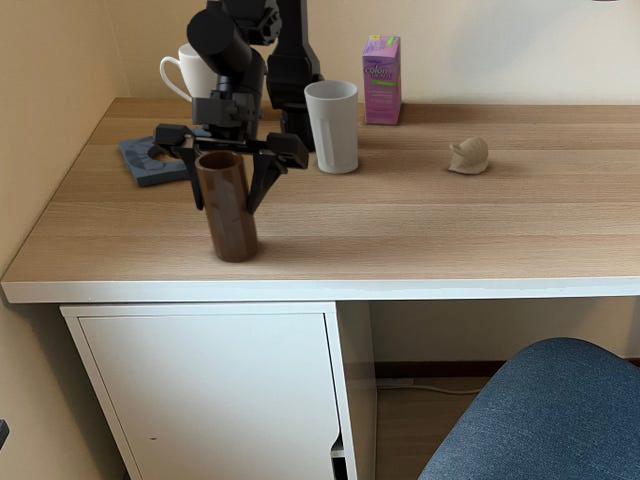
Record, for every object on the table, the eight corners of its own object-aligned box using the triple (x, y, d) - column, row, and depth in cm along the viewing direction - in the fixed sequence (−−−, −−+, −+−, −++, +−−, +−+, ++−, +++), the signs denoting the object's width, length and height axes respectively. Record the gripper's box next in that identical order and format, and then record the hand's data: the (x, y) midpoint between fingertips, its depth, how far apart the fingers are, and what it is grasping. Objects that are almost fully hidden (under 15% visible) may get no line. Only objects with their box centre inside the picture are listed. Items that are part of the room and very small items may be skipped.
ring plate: (207, 134, 131) (206, 125, 130) (232, 169, 122) (230, 160, 121) (118, 150, 126) (116, 141, 125) (137, 188, 117) (134, 178, 116)
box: (397, 125, 137) (395, 56, 129) (365, 124, 137) (360, 54, 129) (402, 102, 145) (400, 35, 137) (372, 101, 144) (368, 34, 136)
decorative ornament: (495, 167, 126) (497, 135, 123) (455, 181, 122) (455, 149, 118) (479, 158, 128) (481, 127, 125) (439, 171, 124) (439, 139, 121)
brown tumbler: (252, 235, 108) (235, 146, 99) (265, 256, 104) (249, 165, 95) (210, 245, 106) (189, 155, 97) (222, 266, 102) (201, 174, 93)
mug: (243, 106, 141) (232, 40, 133) (238, 124, 135) (225, 57, 127) (175, 106, 140) (160, 40, 132) (166, 125, 133) (149, 57, 126)
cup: (371, 159, 127) (366, 84, 119) (349, 179, 121) (343, 103, 113) (327, 150, 129) (320, 77, 121) (304, 170, 123) (294, 94, 115)
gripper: (138, 57, 93) (122, 185, 92) (291, 69, 92) (276, 199, 91) (179, 98, 104) (165, 212, 103) (315, 109, 103) (302, 224, 102)
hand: (224, 212), depth 99 cm, fingers open, 6 cm apart
